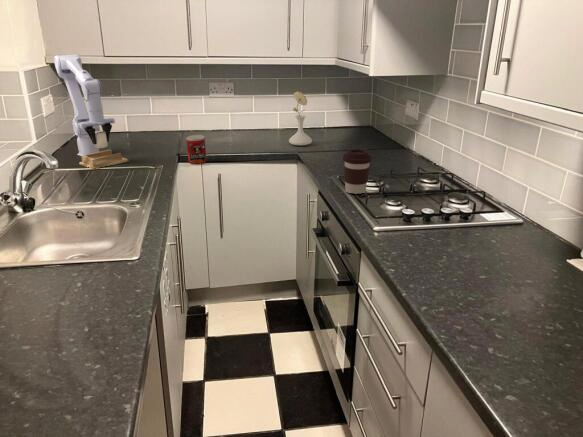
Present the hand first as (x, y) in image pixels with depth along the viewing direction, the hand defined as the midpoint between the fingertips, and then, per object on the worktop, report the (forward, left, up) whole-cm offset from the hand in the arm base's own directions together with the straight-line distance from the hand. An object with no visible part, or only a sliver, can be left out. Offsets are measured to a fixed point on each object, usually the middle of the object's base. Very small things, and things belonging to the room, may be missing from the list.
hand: (100, 142), depth 199 cm
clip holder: (0, 0, -9) cm, 9 cm away
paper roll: (0, 0, -2) cm, 2 cm away
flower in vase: (+44, +79, -9) cm, 91 cm away
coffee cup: (+103, +41, -9) cm, 111 cm away
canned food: (+30, +27, -9) cm, 41 cm away
